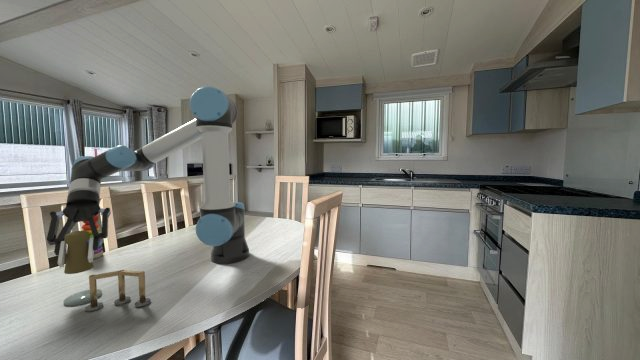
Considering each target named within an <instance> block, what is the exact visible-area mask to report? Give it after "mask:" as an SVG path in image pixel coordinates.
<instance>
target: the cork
mask: <svg viewBox="0 0 640 360" xmlns="http://www.w3.org/2000/svg"><path fill="white" fill-rule="evenodd" d="M89 239H90V234H89V232H87V231H82V230H76V231H71V232H70V233H68V234H67V235H66V236H65V238H64V241H65V243H66V244H67V249H66V256H65V263H64V272H63V273H64V274H65V275H75V274H79V273H83V272H84V273H85V272H87V271H89V270H90V271H91V270H92V269H93V268H94V266H95V265H94V261H93V262H91V263H89V261H88V250H89V245H88V241H89Z"/></svg>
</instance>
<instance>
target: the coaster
mask: <svg viewBox="0 0 640 360" xmlns="http://www.w3.org/2000/svg"><path fill="white" fill-rule="evenodd" d="M102 294H103V291H102V290H101V289H100V288H99V289H98V288H97V299H99V298H100V297H101V296H102ZM88 303H90V289H86V290H82V291H79V292H76V293H73V294H71V295H68V296H67V297H66V298H65V299H64V300H63V305H64V306H65V307H77V306H81V305H85V304H88Z"/></svg>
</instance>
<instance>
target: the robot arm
mask: <svg viewBox="0 0 640 360" xmlns="http://www.w3.org/2000/svg"><path fill="white" fill-rule="evenodd" d="M189 108H190V111H191V113H192V114H193V116H195V118H193V119H192V120H191V121H189V122H187V123H185V124H183V125H181V126H179V127H178V128H176V129H174V130H171V131H170V132H168V133H166V134H164V135H162V136H160V137H158V138H156V139H155V140H152V141H151V142H149V143H148V144H146V145H143V146H142V147H140V148H138V149H136V150H132V149H131V148H130V147H127V146H126V145H125V144H121V145H119V144H118V145H116V146H114V147H110V148H109V149H108V150H106V151H103V152H101V153H99V154H98V155H96V156H91V155H85V156H82V155H81V156H78V157H77V158H76V159H75V160H74V162H73V165H72V167H71V172H70V180H69V186H68V192H67V198H66V203H65V207H64V208H63V209H62V210H61V211H50V212H49V215H50V218H51V220H50V224H49V228H48V231H47V236H46V241H47V243H48V245H49V246H53V245H55V246H54V251H53V252H54V254H55V256H57V257H58V259H57V265H58V267H59V268H65V262H66V254H67V246H68V245H67V244H66V243H65V241H64V238H65V236H66V235H67V234H68V233H71V232H72V230H73V228H74V226H76V225H77V223H80V222H83V221H88V223H89V225H90V228H91V231H92V234H93V237H92V238H90V240H89V250H88V261H89V263H91V262H93V263H94V259H93V254H94V250H98V249H99V241H100V239H101V240H102V239H107V238H108V234H109V217H110V215H111V213H112V212H111V208H110V207H104V208H101V206H100V201H101V199H100V196H101V186H102V185H101V184H102V180H104V179H106V178H108V177H111V176H112V175H115V174H116V173H118V172H137V171H138V172H139V171H140V172H145V171H149V170H151V169H153V168H154V167H155V164H156V163H158V162H160V161H162V160H164V159H166V158H168V157H170V156H172V155H173V154H175V153H177V152H179V151H181V150H183V149H184V148H187V147H188V146H190V145H192V144H194V143H196V142H197V141H199V140H201V149H202V151H201V152H202V153H201V154H202V171H203V172H202V175H203V196H204V199H203V200H204V201H203V203H202V204H201V205H200V206H199V215H200V218H199V219H198V221H197V222H196V225H195V235H196V237H197V238H198V239H199V241H200V242H202V243H203V244H204V245H206V246H208V247H209V246H211V247H212V248H211V252H210V260H211V261H212V262H213V263H216V264H233V263H238V262H241V261H244V260H246V259H248V257H249V256H250V248H249V246H248V243H247V242H248V241H247V240H246V237H245V227H246V226H245V211H246V209H245V203H243V202H240V201H239V202H237V201H236V202H233V201H232V200H231V186H230V185H231V184H230V183H231V181H230V177H231V176H230V157H229V156H230V153H229V152H230V151H229V150H230V149H229V134H230V133H231V132H232V130H233V125H234V124H235V122H236V121H237V119H238V115H239V111H238V107H237V104H236V103H235V102H234V100H232V99H231V98H230V97H229V96H227V94H226V93H225V92H224V91H223V90H221V89H218V88H217V87H214V86H211V85H210V86H201V87H199V88H197V89H196V90H195V91H193V93H192V95H191V96H190V98H189ZM99 213H100V215H101V232H98V231H97V228H96V225H95V223H94V220H93V218H94V217H95V216H96V215H98V214H99ZM63 216H65V217H66V222H65V223H64V225H63V227H62V228H61V230H60V232H59V233H58V230H59V227H60V226H59V225H60V220H61V219H62V218H63ZM98 233H99V234H98ZM100 242H101V241H100Z"/></svg>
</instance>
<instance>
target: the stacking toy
mask: <svg viewBox="0 0 640 360" xmlns="http://www.w3.org/2000/svg"><path fill="white" fill-rule="evenodd" d="M99 218H100V217H99V215H98V214H97V215H96V216H95V217H94V218H93V220H94V223H95V225H96V228H97V231H98V234H99V233H100V228H99V227H100V225H99V224H98V223H97V222H98V221H99ZM82 223H83V225H82V226H81V229H82V230H81V231H87V232H89V234H90V238H92V237H93V234H92V231H91V228H90V225H89V223H88V221H82ZM89 240H90V239H89ZM101 240H102V239H100V241H99V249H98V250H94V254H93V260H94V259H95V260H96V259H98V258H100V257H102V256H103V255H104V251H103V243H102V241H101ZM88 245H89V241H88Z"/></svg>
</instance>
